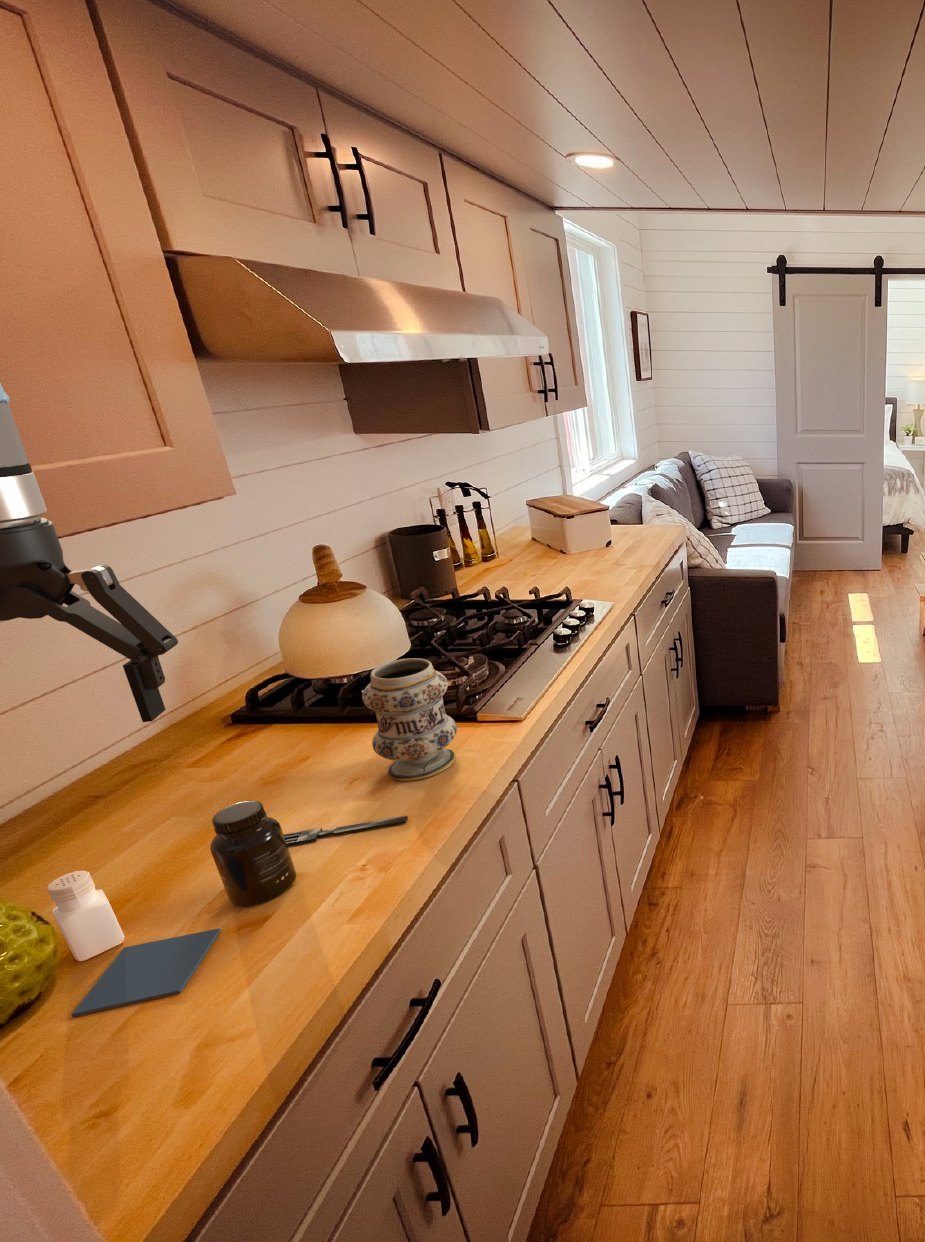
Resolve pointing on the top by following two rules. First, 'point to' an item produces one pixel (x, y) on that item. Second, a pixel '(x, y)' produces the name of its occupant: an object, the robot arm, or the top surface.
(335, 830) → the fork
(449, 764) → the apothecary jar
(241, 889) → the supplement bottle
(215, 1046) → the top surface
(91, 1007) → the dark blue square coaster
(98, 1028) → the top surface
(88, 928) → the pepper shaker
